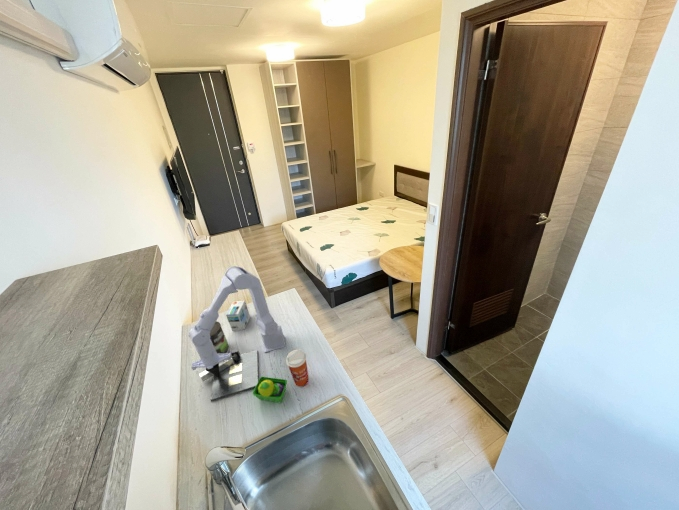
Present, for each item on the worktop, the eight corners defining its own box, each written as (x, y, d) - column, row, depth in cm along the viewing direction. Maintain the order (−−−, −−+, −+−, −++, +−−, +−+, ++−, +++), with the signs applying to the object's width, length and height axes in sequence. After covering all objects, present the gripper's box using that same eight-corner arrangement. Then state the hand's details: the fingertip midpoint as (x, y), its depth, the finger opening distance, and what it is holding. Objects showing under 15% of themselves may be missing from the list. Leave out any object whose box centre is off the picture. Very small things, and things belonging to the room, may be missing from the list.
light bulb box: (244, 330, 138) (238, 313, 133) (231, 331, 138) (225, 314, 133) (250, 315, 147) (245, 300, 142) (238, 316, 148) (232, 300, 142)
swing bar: (239, 360, 120) (237, 355, 118) (202, 381, 111) (200, 377, 110) (237, 357, 121) (235, 352, 119) (201, 378, 113) (199, 374, 111)
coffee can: (233, 343, 130) (225, 321, 124) (221, 361, 122) (211, 338, 115) (215, 342, 133) (205, 320, 126) (201, 359, 124) (190, 336, 117)
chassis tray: (257, 351, 125) (255, 344, 122) (258, 387, 109) (255, 379, 106) (216, 363, 121) (213, 355, 119) (211, 401, 105) (207, 393, 103)
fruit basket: (290, 388, 107) (284, 368, 101) (281, 410, 99) (275, 390, 94) (263, 384, 109) (256, 365, 104) (253, 405, 102) (245, 386, 96)
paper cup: (295, 392, 105) (289, 368, 98) (289, 377, 111) (282, 353, 104) (314, 383, 108) (309, 358, 101) (307, 369, 114) (301, 345, 107)
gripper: (185, 365, 101) (198, 388, 108) (225, 354, 104) (235, 377, 111) (188, 351, 108) (200, 374, 114) (227, 341, 110) (236, 363, 117)
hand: (218, 374), depth 113 cm, fingers closed
